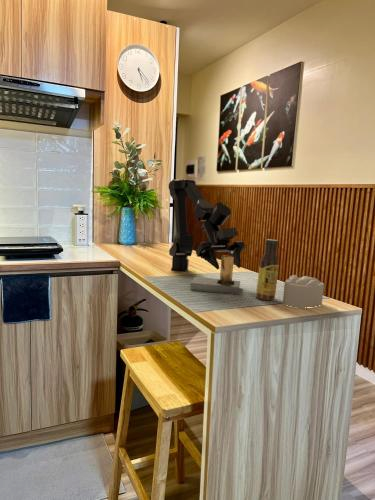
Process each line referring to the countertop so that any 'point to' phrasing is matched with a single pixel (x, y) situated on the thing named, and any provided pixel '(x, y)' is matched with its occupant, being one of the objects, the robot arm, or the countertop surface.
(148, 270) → the countertop surface
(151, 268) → the countertop surface
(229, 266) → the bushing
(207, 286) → the plate
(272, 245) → the sauce bottle
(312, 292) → the lumpy-topped squat cylinder
